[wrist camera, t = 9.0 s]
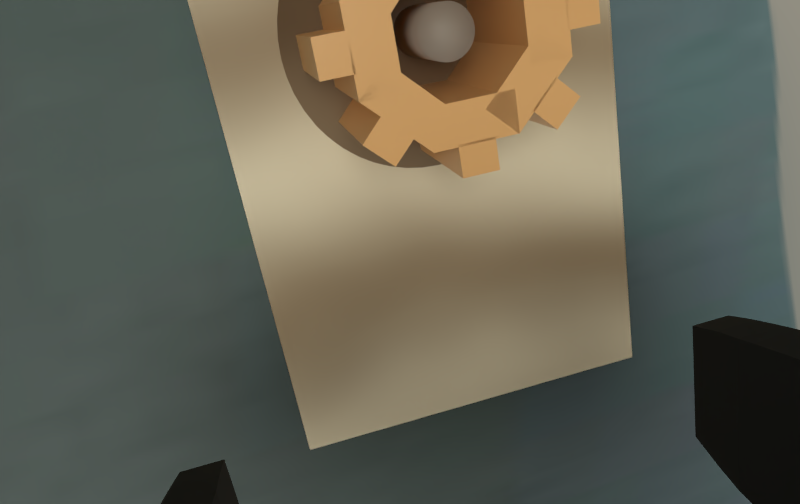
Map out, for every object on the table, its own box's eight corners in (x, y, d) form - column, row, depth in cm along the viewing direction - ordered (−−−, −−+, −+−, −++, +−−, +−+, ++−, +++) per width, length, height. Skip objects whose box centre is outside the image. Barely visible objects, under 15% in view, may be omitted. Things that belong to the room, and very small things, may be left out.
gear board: (615, 342, 21) (749, 455, 16) (307, 430, 20) (333, 589, 14) (555, -474, 14) (758, -796, 9) (72, -432, 13) (-57, -786, 7)
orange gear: (573, -3, 17) (653, -9, 13) (443, 190, 17) (489, 227, 14) (385, -163, 15) (427, -217, 11) (249, 63, 15) (251, 72, 12)
